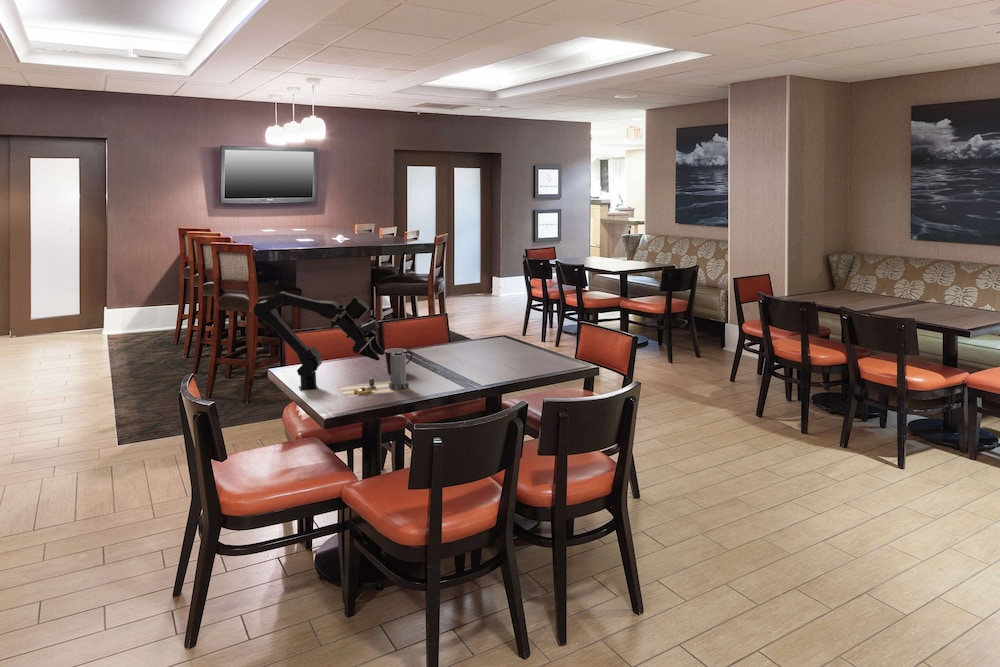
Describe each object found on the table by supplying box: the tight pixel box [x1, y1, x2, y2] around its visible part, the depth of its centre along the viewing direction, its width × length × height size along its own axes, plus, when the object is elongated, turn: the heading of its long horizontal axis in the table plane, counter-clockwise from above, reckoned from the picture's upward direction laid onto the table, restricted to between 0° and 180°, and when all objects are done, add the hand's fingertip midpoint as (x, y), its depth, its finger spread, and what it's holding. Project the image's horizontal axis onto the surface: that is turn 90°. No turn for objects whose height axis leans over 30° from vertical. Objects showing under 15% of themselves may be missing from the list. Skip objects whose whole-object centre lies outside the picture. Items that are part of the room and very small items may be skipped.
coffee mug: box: [384, 348, 413, 376], centre depth 304 cm, size 12×9×10 cm
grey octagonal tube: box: [389, 353, 410, 391], centre depth 281 cm, size 7×7×13 cm
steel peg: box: [368, 377, 376, 389], centre depth 282 cm, size 3×3×4 cm
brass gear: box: [354, 387, 372, 396], centre depth 275 cm, size 7×7×2 cm
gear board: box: [337, 380, 413, 398], centre depth 281 cm, size 16×25×1 cm, turn 114°
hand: (381, 357), depth 280 cm, fingers open, 9 cm apart
